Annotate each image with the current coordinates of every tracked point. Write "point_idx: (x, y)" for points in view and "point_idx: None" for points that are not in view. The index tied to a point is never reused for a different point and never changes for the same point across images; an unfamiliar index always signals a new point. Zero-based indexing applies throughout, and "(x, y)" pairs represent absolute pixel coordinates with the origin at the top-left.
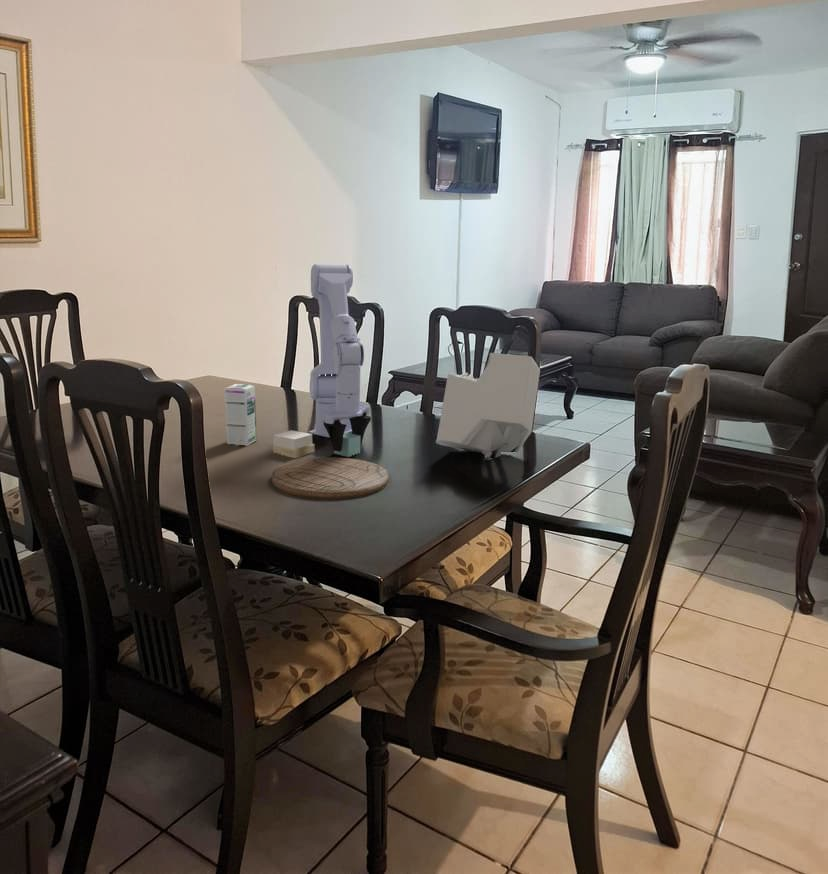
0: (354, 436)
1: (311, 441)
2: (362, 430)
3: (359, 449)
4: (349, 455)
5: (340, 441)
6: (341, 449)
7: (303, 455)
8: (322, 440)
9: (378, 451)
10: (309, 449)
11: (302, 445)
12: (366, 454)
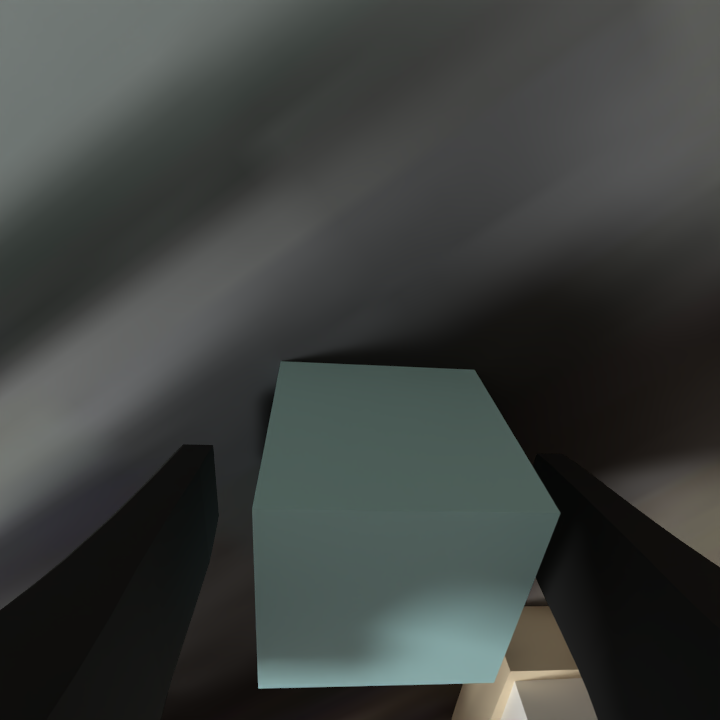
0: (370, 536)
1: (533, 709)
2: (124, 596)
3: (290, 384)
4: (462, 374)
5: (664, 532)
6: (547, 462)
7: None
8: (195, 713)
9: (60, 240)
10: (555, 638)
11: None
12: (277, 279)
